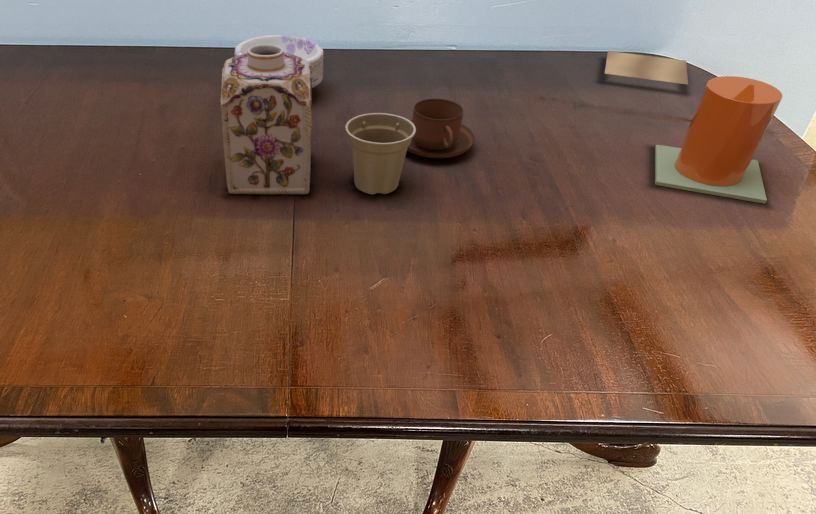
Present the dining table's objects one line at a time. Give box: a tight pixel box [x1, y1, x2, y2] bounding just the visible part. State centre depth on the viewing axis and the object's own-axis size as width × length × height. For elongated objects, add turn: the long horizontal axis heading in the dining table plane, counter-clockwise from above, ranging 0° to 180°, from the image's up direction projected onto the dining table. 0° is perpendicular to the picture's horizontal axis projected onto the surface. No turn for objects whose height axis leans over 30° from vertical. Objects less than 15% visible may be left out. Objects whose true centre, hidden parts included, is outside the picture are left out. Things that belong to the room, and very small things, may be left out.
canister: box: [675, 75, 783, 186], centre depth 93 cm, size 9×9×12 cm
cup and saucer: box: [406, 98, 476, 159], centre depth 101 cm, size 12×12×6 cm
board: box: [604, 50, 689, 85], centre depth 124 cm, size 14×12×2 cm
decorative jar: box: [218, 44, 314, 195], centre depth 91 cm, size 12×12×18 cm
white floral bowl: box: [233, 34, 325, 89], centre depth 116 cm, size 15×15×8 cm
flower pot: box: [344, 112, 416, 195], centre depth 92 cm, size 9×9×9 cm
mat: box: [654, 144, 768, 205], centre depth 97 cm, size 14×12×1 cm
